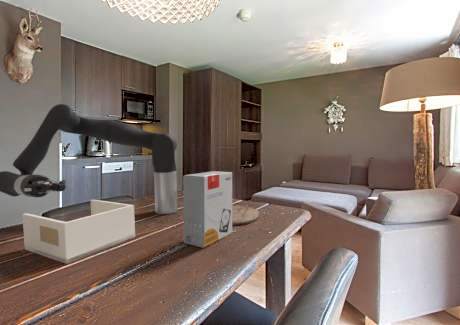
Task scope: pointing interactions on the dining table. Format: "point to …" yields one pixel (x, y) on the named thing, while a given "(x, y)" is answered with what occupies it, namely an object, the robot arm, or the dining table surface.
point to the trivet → (243, 215)
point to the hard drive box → (207, 207)
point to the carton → (79, 232)
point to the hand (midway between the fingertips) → (62, 187)
